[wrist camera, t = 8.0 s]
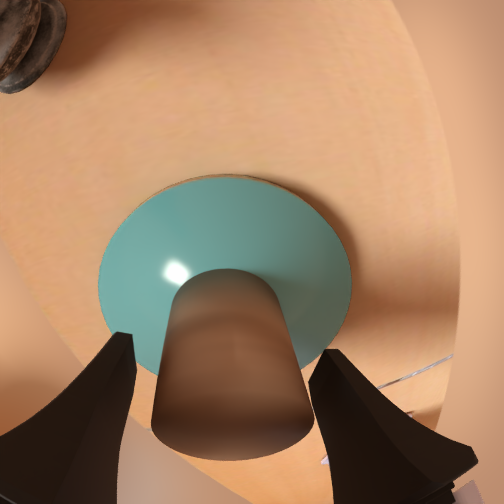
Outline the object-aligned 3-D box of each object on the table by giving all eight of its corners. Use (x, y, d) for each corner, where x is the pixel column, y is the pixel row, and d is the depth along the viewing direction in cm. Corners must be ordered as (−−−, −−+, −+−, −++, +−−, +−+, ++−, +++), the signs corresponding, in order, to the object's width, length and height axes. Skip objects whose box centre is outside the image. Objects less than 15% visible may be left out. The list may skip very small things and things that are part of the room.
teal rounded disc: (303, 378, 17) (308, 392, 16) (118, 363, 15) (114, 377, 14) (373, 202, 12) (386, 209, 11) (105, 160, 10) (94, 164, 9)
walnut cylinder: (264, 357, 14) (285, 459, 9) (168, 347, 13) (154, 453, 8) (293, 277, 12) (341, 389, 7) (175, 259, 11) (146, 378, 6)
